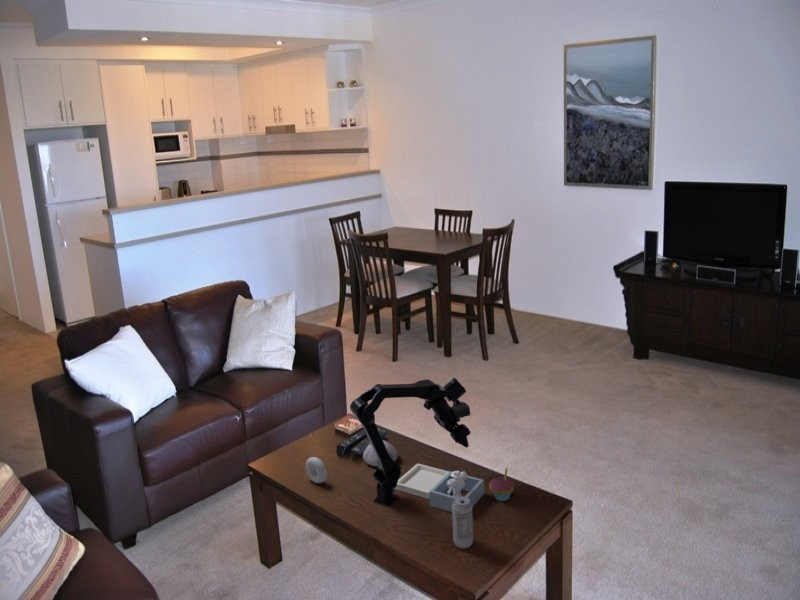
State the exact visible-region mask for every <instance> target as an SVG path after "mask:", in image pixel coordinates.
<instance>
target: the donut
mask: <svg viewBox="0 0 800 600" xmlns="http://www.w3.org/2000/svg"><path fill="white" fill-rule="evenodd" d="M305 473H306V474H307V476H308V478H309V479H310V480H311V481H312V482H314V483H315V484H322V483H324V482H325V481H326V479H327V475H328V474H327V473H328V471H327V468H326V465H325V463H324V462H323V460H321V459H320V458H319V457H316V456H311V457H309V458H308V459H307V460H306V463H305Z"/></svg>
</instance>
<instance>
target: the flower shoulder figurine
mask: <svg viewBox="0 0 800 600" xmlns="http://www.w3.org/2000/svg"><path fill="white" fill-rule="evenodd" d="M451 472H452V474H451V476H452V477H454V479H450V480H449V479H448V480H449V481H447V482H448V483H447V486H448V485H451V486H448V487H450V489H449V491H448V492H447V493H446V494H447V495H450V496H451V493H452V496H454V497H460V496H463V495H462V490H461V489H462V487H464V486H465V481H464V479H467V478H465V477H466V476H468V473H466V472H465V471H463V470H462V471H461V472H460V470H454V471H451ZM463 478H464V479H463Z"/></svg>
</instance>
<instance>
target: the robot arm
mask: <svg viewBox="0 0 800 600" xmlns="http://www.w3.org/2000/svg"><path fill="white" fill-rule="evenodd" d="M466 393H467V390H466V388H465V387H464V386H463V385H462V384H461V382H459V380H458V379H457V378H456V377H453V378H452V379H451V380H450V381H449V382H447V383H445V385H444V386H442V385H440V384H438V383H435V381H432V380H431V379H420V380H417V381H416V382H413V383H393V384H392V383H391V384H389V383H388V384H385V383H384V384H381V383H377V384H374V386H372V388H370V389H368V390H366V391H364V392H363V393H361V394H360V395H359V396H358V397H357V398H355V399H354V400H352V402H351V403H350V406H349V409H350V411H351V413H352V414H353V416H354V417H355V418H356V419H357V420H358V422H359V423H360V424H361V426H362V428H363V430H364V432H365V434H366V436H367V438H368V441H369V444H370V443H371V445H372V447H373V449H374V452H375V454H376V456H377V464H378V467H377V469H376V470H375V472H373V473H372V477H373V479H374V481H376V482H377V483H376V497H375V498H374V499H373V502H374V501H375V503H379V504H381V505H385V506H391V505H392V504H394V502H395V501H396V500H397V499H399V497H400V496H399V495H398V494H396V489H395V487H396V486H397V482H398V480H399V479H400V478H401V476H402V467H401V466H400V464H399V463H400V462H399V459H398V457H397V458H396V457H395V456H394V455H393V454H392V453H388V451H387V449H386V447H385V444H384V442H383V440H384V439H383V438H382V436H381V434H380V431H379V429H378V428H377V425H376V415H375V413H376V412H377V410H379V408H380V406H381V404H382V403H383V401H384V400H385V399H392V398H393V399H394V398H395V399H398V398H418V399H421V400H423V401H424V402H423V406H422V407H423V408H425V409H426V410H427V411H430V410H432V411H433V413H434V416H433V418H434V421H435V422H436V423H437V424H438V425H439V426H440V427H441V428H442V429H444V430H445V431H447V432H449V435H450V437H451V439H452V440H453V441H454V442H455V443H456V444H459V445H461V446H462V447H465V449H467V448H468V447H469V445H470V444H469V441H468V436H469V435H470V434H471V430H470V428H468V427H467V425H466V424H465V423H464V424H463V423H460V424H459V422H461V419H462V418H463V419H464V418H465V417H469V416H471V410H470V405H468V403H466V402H464V401H460V400H459V399H460V398H461V397H462V396H464V395H465V394H466ZM448 402H449V403H451V402H452V406H450V404H449V403H448Z"/></svg>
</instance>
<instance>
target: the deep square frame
mask: <svg viewBox="0 0 800 600" xmlns="http://www.w3.org/2000/svg"><path fill="white" fill-rule="evenodd" d="M452 472H453V471H451V470H450V471H449V473H448V474H447V475H446V476H445V477H444V478H443V479H442V480H441V481H440V482H439V483H438V484H437V485H436V486H435V487H434V488H432V489H431V490H430V491H429V493H430V498H429V506H430V507H433V508H437V509H440V510H443V511H445V512H450V513H452V504H453V502H454V499H455V498H456V497H454V496H453V495H451V494H450V495H448V493H447V492H448V491H449V489H450V487H448V486H451V485H448V486H447V483H448V482H447V481H449V480H450V479H454V477H452V476H451V474H452ZM465 478H467V479H464V478H463V479H464V481H465V486H464V487H462V489H461V491H464V492H468V493H466V495H465V496H464V497H467V498H469V499H470V502H471V504H472V508H473V507H474V506H476V504H477V503H478V502H479V501H480V500H481V498H482V497H483V496H484V495H485V479H481V478H478V477H474V476H470V475H467V476H466V477H465ZM448 479H449V480H448Z"/></svg>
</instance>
